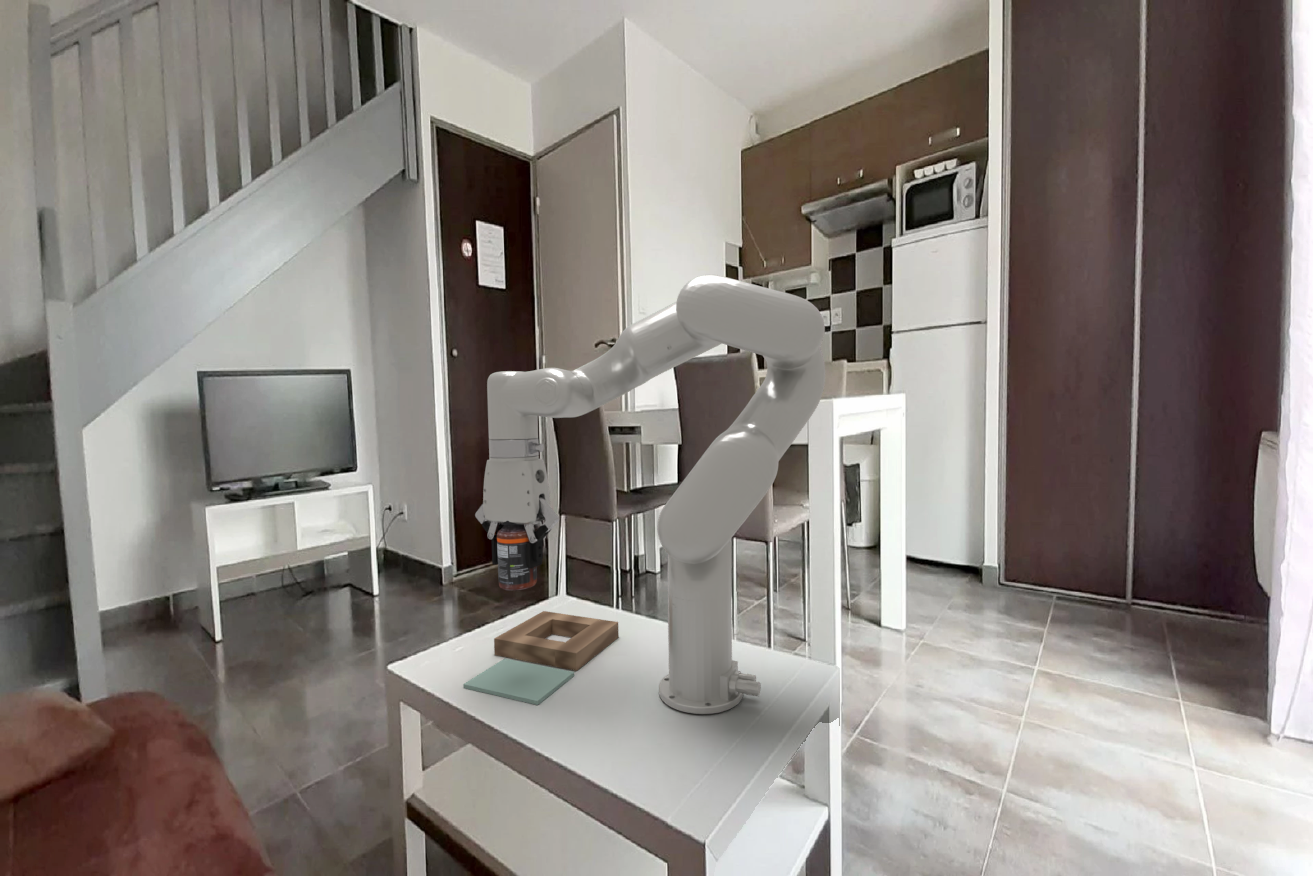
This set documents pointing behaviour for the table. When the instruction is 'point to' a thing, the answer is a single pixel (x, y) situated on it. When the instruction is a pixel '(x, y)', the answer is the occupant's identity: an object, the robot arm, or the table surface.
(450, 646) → the table surface
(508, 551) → the supplement bottle
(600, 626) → the walnut frame
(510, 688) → the sage green mat
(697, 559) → the robot arm
